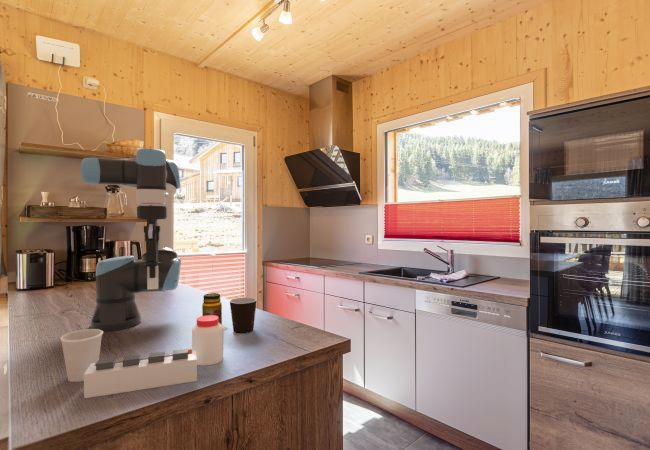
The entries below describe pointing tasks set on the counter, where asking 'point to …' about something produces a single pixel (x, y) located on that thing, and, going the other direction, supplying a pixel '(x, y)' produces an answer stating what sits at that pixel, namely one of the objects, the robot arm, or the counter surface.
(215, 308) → the condiment
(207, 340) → the pill bottle
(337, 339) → the counter surface
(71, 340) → the dixie cup
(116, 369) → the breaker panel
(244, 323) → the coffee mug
